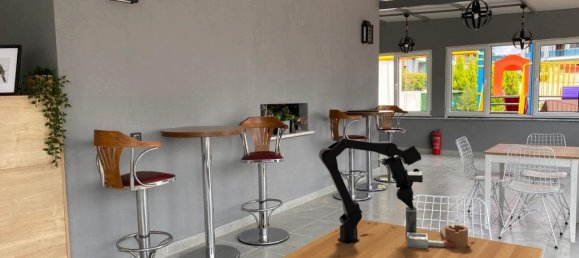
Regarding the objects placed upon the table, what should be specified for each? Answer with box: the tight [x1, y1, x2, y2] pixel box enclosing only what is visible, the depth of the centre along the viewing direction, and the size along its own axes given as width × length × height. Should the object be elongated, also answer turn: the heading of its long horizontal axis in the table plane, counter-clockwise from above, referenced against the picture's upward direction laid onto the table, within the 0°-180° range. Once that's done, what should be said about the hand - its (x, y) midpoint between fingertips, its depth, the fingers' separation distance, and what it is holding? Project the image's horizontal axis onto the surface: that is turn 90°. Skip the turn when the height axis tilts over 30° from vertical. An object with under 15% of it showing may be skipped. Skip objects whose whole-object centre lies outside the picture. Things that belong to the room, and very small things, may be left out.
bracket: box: [439, 224, 469, 249], centre depth 182 cm, size 18×8×7 cm, turn 172°
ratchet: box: [406, 232, 456, 249], centre depth 176 cm, size 8×18×3 cm, turn 76°
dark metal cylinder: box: [405, 206, 418, 235], centre depth 190 cm, size 4×4×11 cm
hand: (412, 204), depth 185 cm, fingers open, 9 cm apart
